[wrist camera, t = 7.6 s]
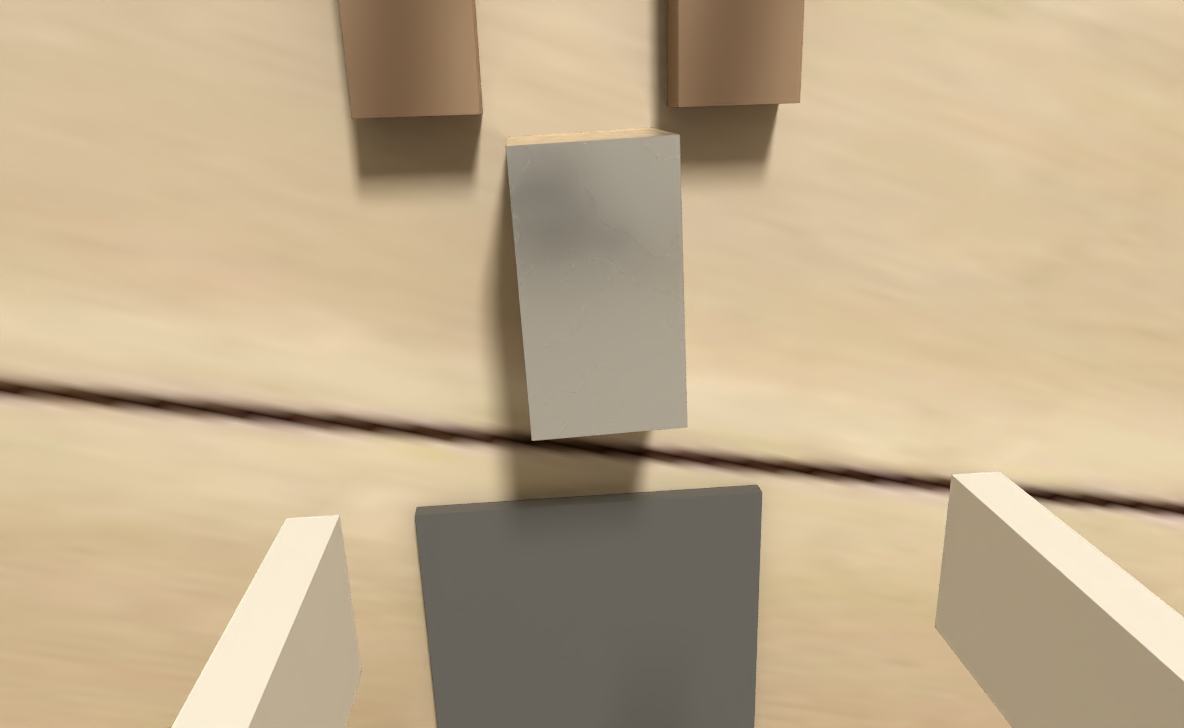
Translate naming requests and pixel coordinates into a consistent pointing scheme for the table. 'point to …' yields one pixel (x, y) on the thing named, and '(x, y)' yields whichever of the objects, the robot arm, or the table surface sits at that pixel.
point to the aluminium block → (600, 280)
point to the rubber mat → (594, 609)
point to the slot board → (452, 72)
